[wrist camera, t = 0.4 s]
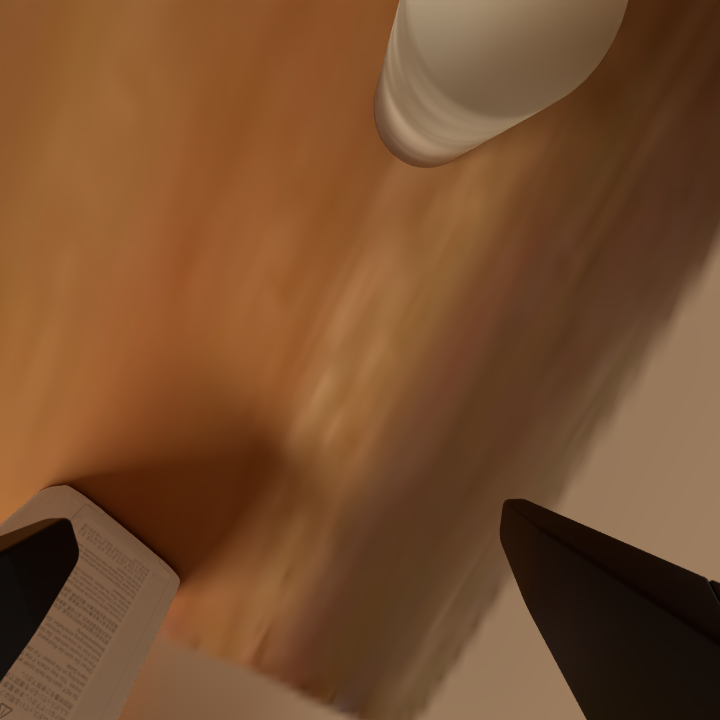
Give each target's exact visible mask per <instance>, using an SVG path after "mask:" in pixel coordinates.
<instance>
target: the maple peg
mask: <svg viewBox="0 0 720 720" xmlns="http://www.w3.org/2000/svg"><path fill="white" fill-rule="evenodd" d="M627 3H628V0H400V1H399V5H398V9H397V12H396V16H395V20H394V24H393V27H392V31H391V35H390V39H389V42H388V46H387V50H386V54H385V57H384V61H383V65H382V69H381V72H380V76H379V80H378V84H377V87H376V92H375V97H374V117H375V123H376V126H377V130H378V132H379V135H380V137H381V139H382V141H383V142H384V144H385V145H386V147H387V148H388V149H389V151H390V152H391V153H392V154H393V155H394V156H396V157H397V158H398V159H400V160H401V161H403V162H405V163H407V164H409V165H412V166H416V167H422V168H431V167H437V166H441V165H444V164H447V163H449V162H451V161H452V160H454V159H456V158H458V157H460V156H461V155H463V154H465V153H467V152H468V151H470V150H472V149H474V148H475V147H477V146H479V145H481V144H483V143H484V142H486V141H488V140H490V139H491V138H493V137H495V136H497V135H498V134H500V133H502V132H504V131H506V130H507V129H509V128H511V127H513V126H514V125H516V124H518V123H520V122H522V121H523V120H525V119H527V118H529V117H530V116H532V115H534V114H536V113H537V112H539V111H541V110H543V109H545V108H546V107H548V106H550V105H552V104H553V103H555V102H557V101H559V100H560V99H562V98H564V97H565V96H566V95H568V94H569V93H571V92H572V91H574V90H575V89H576V88H577V87H578V86H579V85H580V84H581V83H583V82H584V81H585V80H586V79H587V78H588V76H589V75H590V74H591V73H592V72H593V71H594V70H595V69H596V67H597V66H598V65H599V63H600V62H601V60H602V59H603V58H604V56H605V55H606V53H607V51H608V50H609V48H610V46H611V44H612V43H613V41H614V39H615V37H616V34H617V32H618V30H619V28H620V25H621V23H622V20H623V17H624V14H625V11H626V8H627Z"/></svg>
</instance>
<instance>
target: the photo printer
mask: <svg viewBox="0 0 720 720" xmlns="http://www.w3.org/2000/svg"><path fill="white" fill-rule="evenodd" d="M48 518H67V519H69V520H70V521H71V523H72V526H73V529H74V533H75V536H76V540H77V543H78V546H79V559H78V561H77V564H76V566H75V568H74V569H73V571H72V573H71V574H70V576H69V578H68V580H67V581H66V583H65V585H64V586H63V588H62V590H61V591H60V593H59V595H58V596H57V598H56V600H55V602H54V603H53V605H52V607H51V608H50V610H49V612H48V613H47V615H46V617H45V618H44V620H43V622H42V623H41V625H40V627H39V628H38V630H37V631H36V633H35V634H34V636H33V637H32V639H31V640H30V642H29V643H28V645H27V646H26V647H25V649H24V650H23V652H22V653H21V654H20V656H19V657H18V659H17V660H16V661H15V663H14V664H13V666H12V667H11V668H10V670H9V671H8V673H7V674H6V675H5V677H4V678H3V680H2V681H1V682H0V720H118V718H119V716H120V714H121V711H122V709H123V707H124V705H125V702H126V700H127V698H128V696H129V694H130V692H131V689H132V687H133V685H134V683H135V681H136V679H137V676H138V674H139V672H140V670H141V667H142V665H143V663H144V661H145V659H146V657H147V655H148V652H149V650H150V648H151V646H152V644H153V642H154V640H155V637H156V635H157V633H158V631H159V629H160V626H161V625H162V622H163V620H164V618H165V616H166V614H167V612H168V610H169V607H170V605H171V603H172V601H173V599H174V596H175V594H176V592H177V590H178V587H179V584H180V579H179V577H178V576H177V574H176V573H175V572H174V571H173V570H172V569H171V568H170V567H169V566H168V565H167V564H166V563H165V562H164V561H163V560H162V559H160V558H159V557H158V556H157V555H156V554H155V553H153V552H152V551H151V550H150V549H149V548H148V547H146V546H145V545H144V544H143V543H142V542H140V541H139V540H138V539H137V538H136V537H135V536H133V535H132V534H131V533H130V532H128V531H127V530H126V529H125V528H124V527H122V526H121V525H120V524H119V523H117V522H116V521H115V520H114V519H113V518H112V517H110V516H109V515H108V514H106V513H105V512H104V511H103V510H102V509H101V508H99V507H98V506H97V505H96V504H94V503H93V502H92V501H90V500H89V499H88V498H86V497H85V496H84V495H82V494H81V493H79V492H78V491H76V490H75V489H73V488H71V487H69V486H67V485H62V486H53V487H49V488H46V489H43V490H41V491H40V492H38V493H37V494H36V495H34V496H33V497H32V498H31V499H30V500H29V501H27V502H26V503H25V504H24V505H23V506H22V507H20V508H19V509H18V510H17V511H16V512H15V513H13V514H12V515H11V516H10V517H9V518H8V519H6V520H5V521H4V522H3V523H2V524H1V525H0V536H1V535H4V534H7V533H9V532H12V531H15V530H17V529H20V528H22V527H25V526H28V525H30V524H33V523H36V522H38V521H41V520H44V519H48Z"/></svg>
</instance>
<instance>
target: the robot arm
mask: <svg viewBox="0 0 720 720" xmlns="http://www.w3.org/2000/svg"><path fill="white" fill-rule="evenodd" d="M500 540H501V544H502V546H503V549H504V551H505V554H506V556H507V559H508V561H509V564H510V566H511V569H512V571H513V574H514V577H515V579H516V582H517V584H518V587H519V589H520V591H521V594H522V596H523V599H524V601H525V603H526V606H527V608H528V610H529V612H530V614H531V616H532V618H533V620H534V621H535V623H536V625H537V627H538V629H539V631H540V633H541V635H542V636H543V638H544V640H545V642H546V644H547V646H548V648H549V650H550V651H551V653H552V655H553V657H554V659H555V661H556V663H557V665H558V667H559V668H560V670H561V672H562V674H563V676H564V678H565V680H566V682H567V684H568V685H569V687H570V689H571V691H572V693H573V695H574V697H575V698H576V701H577V702H578V704H579V706H580V708H581V710H582V712H583V713H584V716H585V717H586V719H587V720H720V583H719V582H716V581H713V580H711V581H710V582H709V581H708V579H706V578H705V577H703V576H700V575H698V574H696V573H694V572H691V571H689V570H687V569H684V568H682V567H680V566H677V565H675V564H673V563H670V562H668V561H666V560H663V559H661V558H659V557H656V556H654V555H652V554H650V553H647V552H645V551H643V550H640V549H638V548H636V547H633V546H631V545H629V544H626V543H624V542H622V541H620V540H617V539H615V538H612V537H610V536H608V535H606V534H603V533H601V532H599V531H597V530H594V529H592V528H590V527H587V526H585V525H583V524H580V523H578V522H576V521H574V520H571V519H569V518H566V517H564V516H562V515H560V514H557V513H555V512H553V511H550V510H548V509H546V508H544V507H541V506H539V505H537V504H534V503H532V502H530V501H527V500H525V499H507V500H505V501H504V504H503V508H502V516H501V524H500ZM78 559H79V546H78V543H77V540H76V536H75V533H74V529H73V526H72V523H71V521H70V520H69V519H67V518H48V519H44V520H41V521H38V522H36V523H33V524H30V525H28V526H25V527H22V528H20V529H17V530H15V531H12V532H9V533H7V534H4V535H1V536H0V682H1V681H2V680H3V678H4V677H5V675H6V674H7V673H8V671H9V670H10V668H11V667H12V666H13V664H14V663H15V661H16V660H17V659H18V657H19V656H20V654H21V653H22V652H23V650H24V649H25V647H26V646H27V645H28V643H29V642H30V640H31V639H32V637H33V636H34V634H35V633H36V631H37V630H38V628H39V627H40V625H41V623H42V622H43V620H44V618H45V617H46V615H47V613H48V612H49V610H50V608H51V607H52V605H53V603H54V602H55V600H56V598H57V596H58V595H59V593H60V591H61V590H62V588H63V586H64V585H65V583H66V581H67V580H68V578H69V576H70V574H71V573H72V571H73V569H74V568H75V566H76V564H77V561H78Z"/></svg>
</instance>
